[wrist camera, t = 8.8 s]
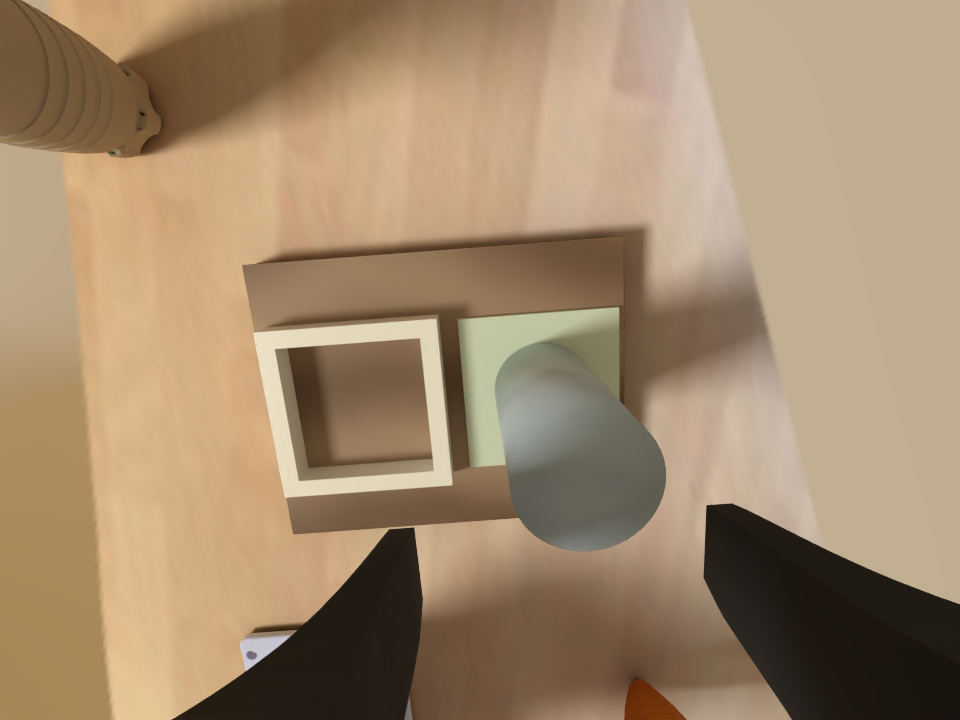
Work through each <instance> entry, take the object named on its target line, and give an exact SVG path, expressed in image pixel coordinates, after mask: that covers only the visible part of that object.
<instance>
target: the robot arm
mask: <svg viewBox="0 0 960 720" xmlns="http://www.w3.org/2000/svg"><path fill="white" fill-rule="evenodd" d="M704 579H705V581H706V583H707V586H708V588H709V590H710V592H711V594H712V596H713V598H714V600H715V602H716V604H717V606H718V608H719V609H720V611H721V613H722V615H723V617H724V619H725V620H726V622H727V623H728V625H729V626H730V628H731V629H732V631H733V632H734V634H735V635H736V637H737V638H738V640H739V641H740V643H741V644H742V646H743V647H744V649H745V650H746V652H747V653H748V655H749V656H750V658H751V659H752V661H753V662H754V664H755V665H756V667H757V668H758V670H759V671H760V673H761V674H762V675H763V677H764V678H765V680H766V681H767V683H768V684H769V686H770V687H771V689H772V690H773V692H774V693H775V695H776V696H777V698H778V699H779V701H780V702H781V704H782V705H783V706H784V708H785V709H786V711H787V712H788V714H789V716H790V717H791V719H792V720H960V604H957V603H954V602H952V601H949V600H946V599H943V598H940V597H937V596H935V595H932V594H929V593H927V592H924V591H921V590H919V589H916V588H914V587H911V586H909V585H906V584H903V583H901V582H898V581H896V580H893V579H891V578H888V577H886V576H884V575H881V574H879V573H876V572H874V571H872V570H870V569H867V568H865V567H863V566H860V565H858V564H856V563H854V562H852V561H850V560H847V559H845V558H843V557H841V556H839V555H837V554H834V553H832V552H830V551H828V550H826V549H824V548H822V547H820V546H818V545H816V544H814V543H812V542H810V541H808V540H806V539H804V538H802V537H800V536H798V535H796V534H794V533H792V532H790V531H788V530H786V529H784V528H782V527H780V526H778V525H776V524H774V523H772V522H770V521H768V520H766V519H764V518H762V517H760V516H758V515H756V514H754V513H752V512H750V511H748V510H746V509H743V508H741V507H739V506H736V505H734V504H719V505H707V509H706V533H705V557H704ZM422 602H423V597H422V589H421V580H420V572H419V564H418V556H417V547H416V539H415V531H414V528H402V529H389V531H388V532H387V533H386V534H385V535H384V536H383V538H382V539H381V540H380V541H379V542H378V544H377V545H376V546H375V547H374V549H373V550H372V551H371V552H370V554H369V555H368V556H367V557H366V559H365V560H364V561H363V562H362V563H361V565H360V566H359V567H358V568H357V569H356V570H355V572H354V573H353V574H352V575H351V576H350V577H349V579H348V580H347V581H346V582H345V583H344V584H343V585H342V587H341V588H340V589H339V590H338V591H337V592H336V593H335V594H334V595H333V596H332V597H331V598H330V599H329V600H328V601H327V602H326V603H325V605H324V606H323V607H322V608H321V609H320V610H319V611H318V612H317V613H316V614H315V615H314V616H313V617H311V618H310V619H309V620H308V621H307V622H306V623H305V624H304V625H303V626H302V627H301V628H299V629H298V630H289V631H275V632H261V633H250V634H247V635H246V636H244V638H243V640H242V642H241V643H240V648H241V652H242V657H243V661H244V665H245V669H246V672H244V673H243V674H242V675H240V676H239V677H237V678H236V679H235V680H233V681H232V682H230V683H229V684H227V685H226V686H224V687H223V688H221V689H220V690H218V691H217V692H215V693H214V694H212V695H211V696H209V697H208V698H206V699H205V700H203V701H201V702H200V703H198V704H197V705H195V706H194V707H192V708H190V709H189V710H187V711H185V712H184V713H182V714H180V715H179V716H177V717H176V718H174V719H172V720H413V716H412V709H411V702H410V689H411V683H412V678H413V673H414V668H415V662H416V657H417V652H418V646H419V641H420V629H421V616H422ZM251 651H254V652H255V653H253V652H251Z"/></svg>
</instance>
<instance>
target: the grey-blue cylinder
mask: <svg viewBox="0 0 960 720" xmlns="http://www.w3.org/2000/svg"><path fill="white" fill-rule="evenodd" d="M495 399H496V405H497V412H498V418H499V424H500V431H501V437H502V443H503V450H504V456H505V462H506V469H507V475H508V481H509V488H510V494H511V499H512V503H513V506H514V509H515V511H516V513H517V515H518V517H519V518H520V520H521V521H522V523H523V524H524V525H525V526H526V528H527V529H528V530H529V531H530V532H532V533H533V534H534V535H535V536H536V537H538V538H539V539H541V540H542V541H544V542H546V543H548V544H550V545H552V546H555V547H558V548H561V549H566V550H570V551H595V550H601V549H605V548H609V547H611V546H614V545H617V544H619V543H621V542H623V541H625V540H627V539H628V538H630V537H631V536H633V535H634V534H636V533H637V532H638V531H639V530H641V529H642V528H643V527H644V526H645V525H646V524H647V522H648V521H649V520H650V519H651V517H652V516H653V515H654V513H655V512H656V510H657V508H658V506H659V504H660V502H661V499H662V497H663V493H664V489H665V483H666V467H665V462H664V458H663V455H662V452H661V449H660V448H659V446H658V444H657V442H656V440H655V439H654V438H653V436H652V435H651V434H650V433H649V432H648V431H647V429H646V428H645V427H644V426H643V425H642V424H641V423H640V422H639V421H638V420H637V419H636V418H635V417H634V416H633V415H632V413H631V412H630V411H629V410H628V409H627V408H626V407H625V406H624V405H623V404H622V403H621V402H620V401H619V400H618V399H617V398H616V396H615V395H614V394H613V393H612V392H611V391H610V390H609V389H608V388H607V387H606V386H605V385H604V384H603V383H602V382H601V380H600V379H599V378H598V377H597V376H596V375H595V374H594V373H593V372H592V371H591V370H590V369H589V368H588V367H587V366H586V365H585V363H584V362H583V361H582V360H581V359H580V358H579V357H578V356H577V355H576V354H575V353H573V352H572V351H571V350H569V349H567V348H566V347H563V346H561V345H558V344H554V343H535V344H531V345H527V346H525V347H522V348H521V349H519V350H517V351H516V352H514V353H513V354H512V355H510V356H509V357H508V358H507V359H506V361H505V362H504V363H503V365H502V366H501V368H500V370H499V372H498V374H497V377H496V381H495Z"/></svg>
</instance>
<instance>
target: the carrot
mask: <svg viewBox="0 0 960 720" xmlns="http://www.w3.org/2000/svg"><path fill="white" fill-rule="evenodd" d="M624 720H686V719H685V718H684V716H683V715H682V714H681V713H680V712H679V711H678V710H677V709H676V708H675V707H674V706H673V705H672V704H671V703H670V702H669V701H668V700H667V699H665V698H664V697H663V696H662V695H661V694H660V693H659V692H657V691H656V690H655V689H654V688H653V687H652V686H651V685H649V684H648V683H647V682H646V681H644V680H639V679H635V680H634V681H633V682H632V683H631V684H630V685H629V688H628V693H627V699H626V704H625V717H624Z"/></svg>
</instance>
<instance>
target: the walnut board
mask: <svg viewBox="0 0 960 720" xmlns="http://www.w3.org/2000/svg"><path fill="white" fill-rule="evenodd" d="M242 267H243V272H244V278H245V283H246V288H247V293H248V299H249V304H250V309H251V314H252V320H253V325H254V330H255V332H256V331H258V330H261V329H263V328H265V327H274V326H288V325H301V324H314V323H327V322H341V321H354V320H367V319H380V318H393V317H407V316H420V315H433V314H439V324H440V334H441V345H442V355H443V365H444V376H445V386H446V397H447V407H448V418H449V428H450V439H451V449H452V460H453V470H454V474H453V485H450V486H437V487H423V488H410V489H396V490H383V491H369V492H355V493H342V494H328V495H315V496H301V497H288V498H287V503H288V509H289V514H290V519H291V524H292V530H293V534H305V533H319V532H332V531H346V530H360V529H373V528H387V527H400V526H414V525H428V524H441V523H455V522H469V521H482V520H496V519H510V518H519V517H518V515H517V513H516V511H515V509H514V506H513V503H512V499H511V494H510V488H509V481H508V475H507V469H506V465H497V466H483V467H470V459H469V448H468V436H467V425H466V413H465V401H464V390H463V378H462V367H461V355H460V343H459V332H458V320H457V319H462V318H475V317H488V316H501V315H514V314H528V313H541V312H554V311H567V310H581V309H594V308H607V307H619V400H620V402H621V403H622V404H623V405H624V236H616V237H602V238H589V239H576V240H563V241H550V242H537V243H524V244H511V245H497V246H484V247H471V248H458V249H445V250H432V251H419V252H406V253H393V254H380V255H366V256H353V257H340V258H327V259H314V260H301V261H288V262H275V263H262V264H251V265H242ZM288 354H289V360H290V365H291V371H292V377H293V382H294V388H295V394H296V400H297V405H298V411H299V417H300V422H301V428H302V434H303V440H304V445H305V451H306V457H307V462H308V468H313V467H327V466H340V465H354V464H367V463H381V462H394V461H408V460H421V459H433V456H432V447H431V438H430V428H429V419H428V409H427V400H426V391H425V381H424V372H423V362H422V353H421V344H420V338H416V339H402V340H389V341H376V342H363V343H349V344H336V345H323V346H309V347H296V348H288Z"/></svg>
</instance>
